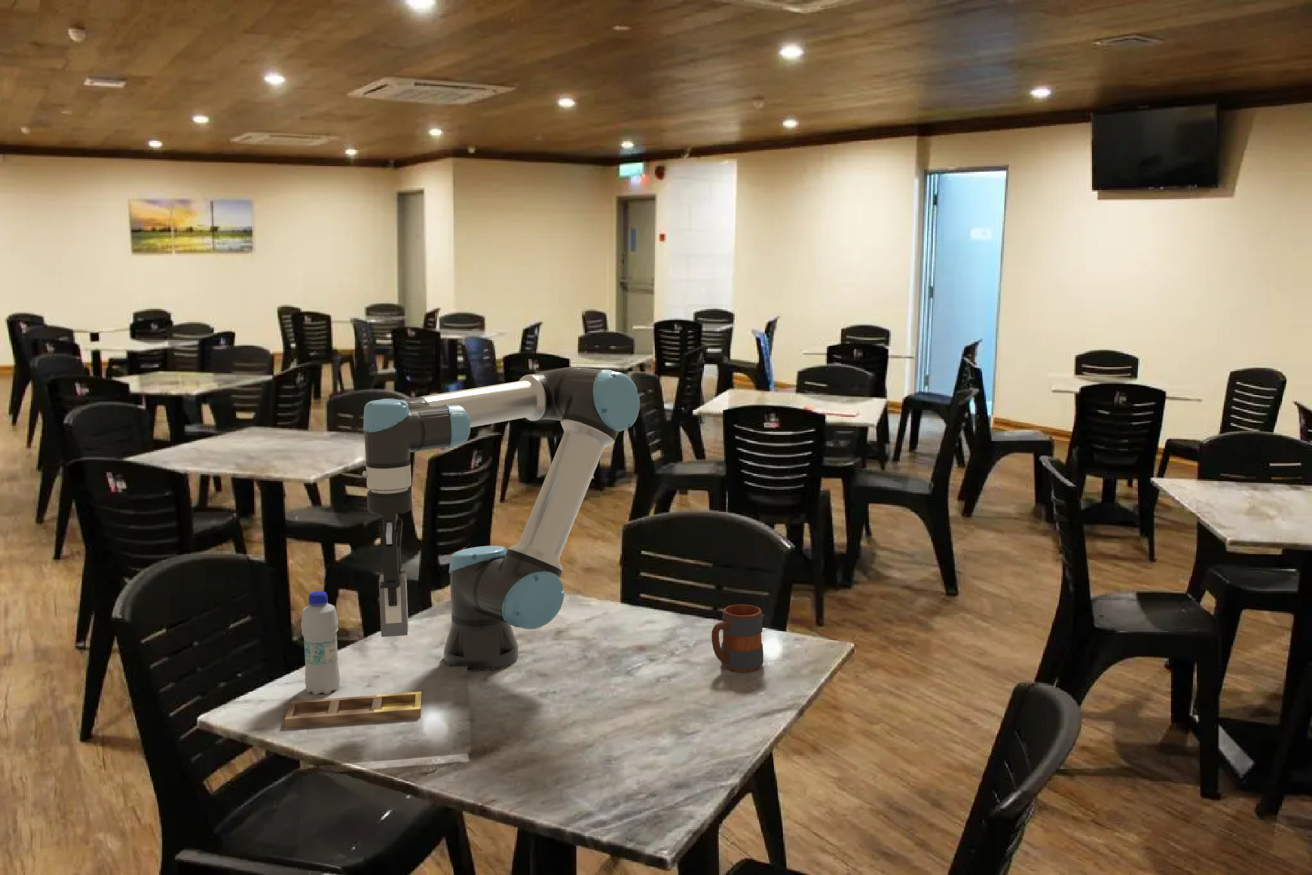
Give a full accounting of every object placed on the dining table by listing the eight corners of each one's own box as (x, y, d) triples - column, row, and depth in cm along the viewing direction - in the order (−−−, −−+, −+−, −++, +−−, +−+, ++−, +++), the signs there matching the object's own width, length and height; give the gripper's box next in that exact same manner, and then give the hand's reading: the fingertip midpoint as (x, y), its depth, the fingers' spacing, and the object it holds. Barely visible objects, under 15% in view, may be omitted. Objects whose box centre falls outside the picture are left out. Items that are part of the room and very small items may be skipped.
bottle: (331, 701, 205) (325, 597, 202) (298, 698, 207) (292, 595, 203) (348, 687, 212) (343, 587, 209) (315, 685, 213) (310, 585, 210)
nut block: (408, 627, 199) (406, 572, 198) (407, 635, 195) (405, 580, 193) (382, 628, 198) (380, 574, 197) (381, 636, 194) (378, 581, 192)
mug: (698, 667, 222) (698, 611, 220) (744, 655, 229) (744, 600, 227) (726, 680, 215) (726, 623, 213) (772, 667, 222) (773, 611, 220)
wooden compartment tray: (421, 704, 204) (421, 691, 203) (420, 722, 196) (420, 708, 196) (291, 714, 200) (291, 700, 199) (285, 732, 192) (284, 718, 191)
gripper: (370, 479, 200) (375, 603, 204) (363, 500, 183) (369, 635, 187) (412, 478, 202) (417, 601, 205) (409, 498, 185) (414, 632, 188)
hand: (394, 617), depth 196 cm, fingers closed on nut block, 4 cm apart
